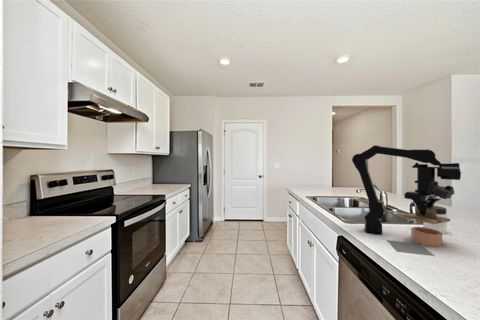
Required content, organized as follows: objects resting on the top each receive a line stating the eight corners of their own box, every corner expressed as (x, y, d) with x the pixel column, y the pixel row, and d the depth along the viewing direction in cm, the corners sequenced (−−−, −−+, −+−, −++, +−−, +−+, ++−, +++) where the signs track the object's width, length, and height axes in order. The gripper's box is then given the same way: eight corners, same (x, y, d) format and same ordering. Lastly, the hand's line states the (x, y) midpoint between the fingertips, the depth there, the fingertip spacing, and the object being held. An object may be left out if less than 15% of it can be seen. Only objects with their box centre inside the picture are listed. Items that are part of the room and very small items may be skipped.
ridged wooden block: (433, 224, 85) (433, 211, 85) (403, 217, 95) (403, 205, 95) (449, 221, 88) (449, 209, 88) (419, 214, 99) (419, 203, 99)
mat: (396, 252, 82) (397, 251, 82) (386, 240, 94) (386, 240, 94) (435, 257, 79) (435, 256, 79) (419, 244, 90) (419, 243, 90)
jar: (443, 235, 100) (443, 210, 100) (421, 230, 107) (421, 206, 107) (448, 231, 105) (448, 207, 105) (427, 227, 112) (427, 204, 112)
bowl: (417, 245, 89) (417, 233, 89) (407, 236, 99) (407, 225, 99) (447, 248, 86) (447, 236, 86) (434, 239, 96) (434, 228, 96)
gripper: (434, 181, 81) (434, 222, 81) (463, 179, 87) (463, 217, 87) (403, 178, 91) (403, 215, 91) (431, 177, 98) (430, 211, 98)
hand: (425, 214), depth 92 cm, fingers closed on ridged wooden block, 3 cm apart
